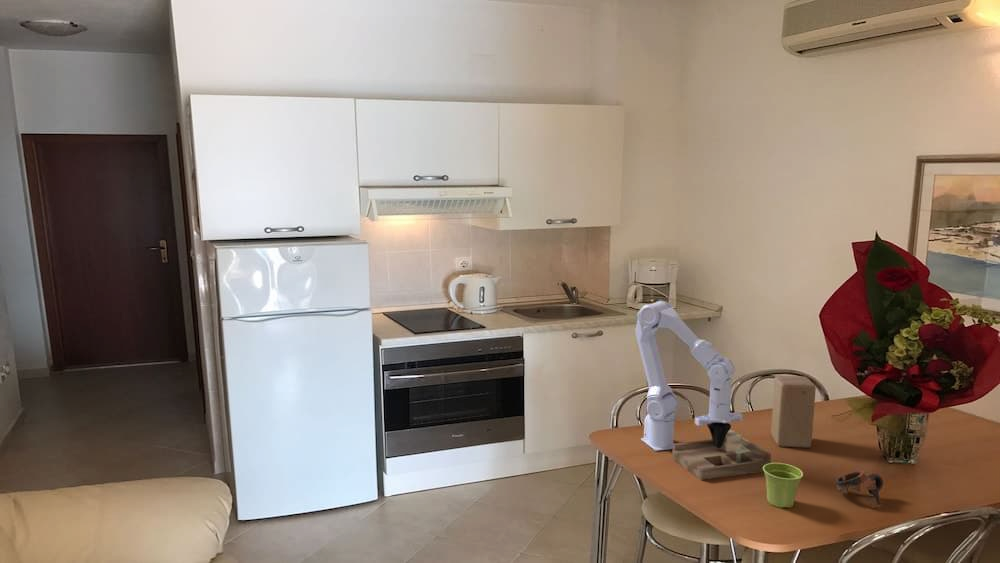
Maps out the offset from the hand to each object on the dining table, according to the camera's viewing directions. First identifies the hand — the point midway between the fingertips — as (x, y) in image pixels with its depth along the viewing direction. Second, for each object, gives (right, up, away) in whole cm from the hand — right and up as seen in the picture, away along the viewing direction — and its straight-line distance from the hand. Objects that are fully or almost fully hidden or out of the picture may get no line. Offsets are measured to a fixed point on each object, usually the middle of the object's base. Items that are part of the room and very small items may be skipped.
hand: (717, 446), depth 201 cm
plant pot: (+8, -8, -25) cm, 28 cm away
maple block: (+4, -1, +1) cm, 4 cm away
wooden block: (+27, -2, +14) cm, 31 cm away
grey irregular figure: (+30, -8, -23) cm, 38 cm away
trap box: (0, -5, -3) cm, 5 cm away
